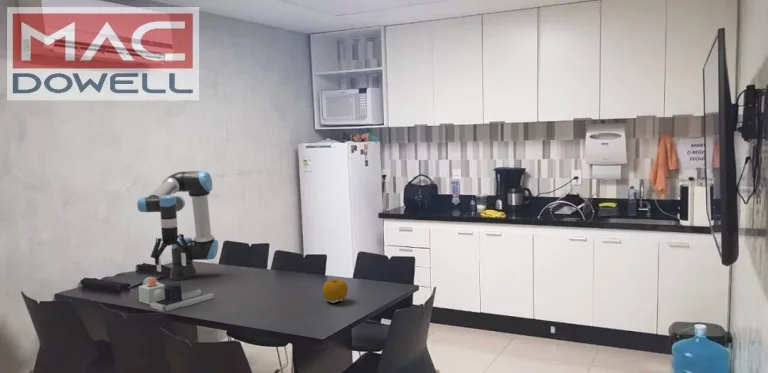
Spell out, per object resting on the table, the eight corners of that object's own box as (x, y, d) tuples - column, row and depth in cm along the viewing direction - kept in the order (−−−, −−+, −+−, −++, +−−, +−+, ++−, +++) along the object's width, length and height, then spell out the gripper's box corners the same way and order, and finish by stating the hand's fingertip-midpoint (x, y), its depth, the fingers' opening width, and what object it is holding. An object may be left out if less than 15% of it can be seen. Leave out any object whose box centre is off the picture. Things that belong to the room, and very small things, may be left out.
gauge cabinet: (157, 296, 308) (156, 282, 307) (167, 300, 301) (166, 285, 300) (139, 301, 300) (138, 286, 299) (149, 305, 294) (148, 289, 293)
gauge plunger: (154, 290, 303) (153, 276, 302) (157, 291, 301) (157, 278, 300) (147, 291, 300) (146, 278, 299) (151, 292, 298) (150, 279, 297)
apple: (351, 299, 298) (351, 277, 297) (341, 307, 286) (341, 284, 285) (329, 297, 302) (328, 276, 301) (318, 304, 290) (317, 282, 289)
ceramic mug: (147, 294, 312) (146, 280, 311) (142, 291, 318) (141, 277, 318) (167, 291, 319) (166, 277, 318) (161, 288, 325) (161, 274, 324)
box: (181, 302, 297) (180, 282, 296) (182, 305, 292) (181, 285, 290) (165, 304, 293) (163, 284, 292) (165, 307, 288) (164, 287, 287)
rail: (199, 294, 311) (199, 289, 311) (213, 298, 303) (212, 293, 303) (150, 307, 289) (150, 301, 289) (163, 312, 281) (163, 306, 281)
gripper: (187, 222, 300) (189, 262, 302) (141, 229, 281) (144, 272, 283) (195, 223, 295) (197, 264, 298) (149, 231, 276) (152, 274, 279)
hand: (171, 268), depth 290 cm, fingers open, 13 cm apart
